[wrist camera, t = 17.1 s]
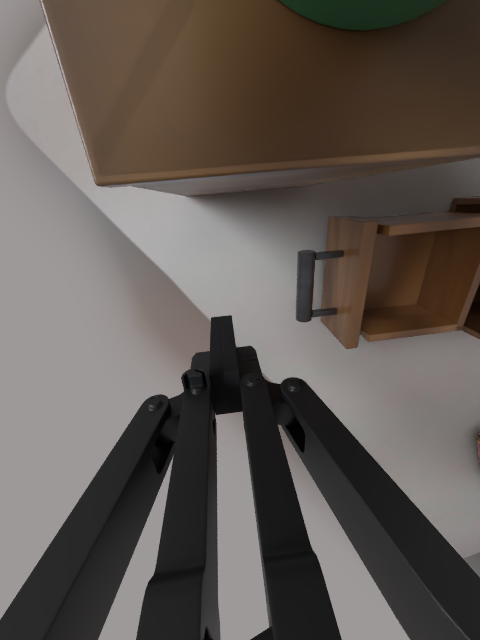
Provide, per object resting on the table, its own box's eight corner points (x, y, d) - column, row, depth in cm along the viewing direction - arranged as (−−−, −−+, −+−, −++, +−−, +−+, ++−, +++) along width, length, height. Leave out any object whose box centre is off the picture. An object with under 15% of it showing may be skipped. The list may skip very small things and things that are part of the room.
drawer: (286, 324, 30) (304, 354, 24) (287, 220, 25) (310, 226, 19) (413, 309, 31) (461, 335, 25) (441, 206, 26) (510, 207, 20)
